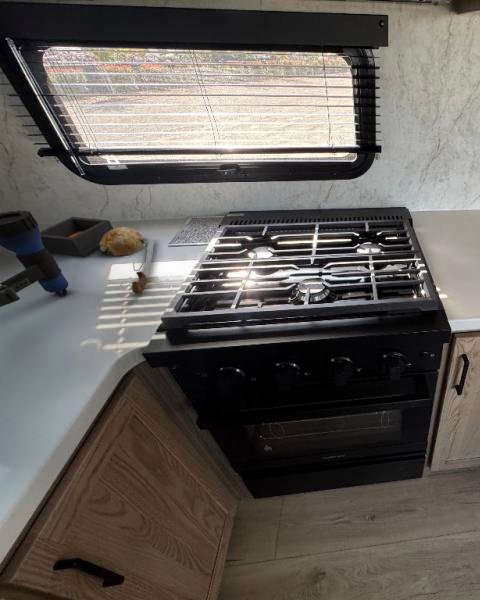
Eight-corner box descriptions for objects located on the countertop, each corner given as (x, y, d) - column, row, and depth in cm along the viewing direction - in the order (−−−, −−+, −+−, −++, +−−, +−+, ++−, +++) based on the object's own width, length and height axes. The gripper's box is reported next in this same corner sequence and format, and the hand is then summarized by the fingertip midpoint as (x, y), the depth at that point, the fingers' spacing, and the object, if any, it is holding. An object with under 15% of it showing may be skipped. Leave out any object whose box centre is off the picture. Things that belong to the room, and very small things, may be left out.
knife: (136, 286, 79) (150, 228, 100) (129, 287, 79) (145, 228, 100) (145, 300, 82) (157, 241, 103) (138, 302, 82) (152, 242, 103)
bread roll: (144, 264, 100) (147, 239, 97) (97, 259, 94) (99, 233, 91) (143, 249, 107) (146, 225, 104) (99, 244, 100) (101, 218, 97)
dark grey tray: (38, 253, 97) (26, 235, 94) (79, 232, 107) (69, 215, 104) (86, 258, 96) (74, 240, 92) (122, 236, 106) (113, 220, 102)
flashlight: (52, 286, 85) (-4, 210, 73) (88, 284, 86) (39, 208, 74) (32, 307, 79) (-34, 227, 67) (71, 303, 80) (13, 224, 68)
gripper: (-80, 330, 52) (52, 258, 69) (-211, 310, 55) (-54, 245, 71) (-42, 363, 57) (73, 288, 73) (-164, 343, 59) (-27, 275, 76)
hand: (11, 267), depth 72 cm, fingers open, 13 cm apart
